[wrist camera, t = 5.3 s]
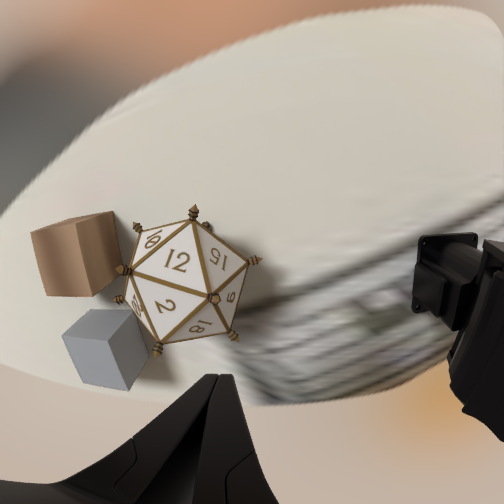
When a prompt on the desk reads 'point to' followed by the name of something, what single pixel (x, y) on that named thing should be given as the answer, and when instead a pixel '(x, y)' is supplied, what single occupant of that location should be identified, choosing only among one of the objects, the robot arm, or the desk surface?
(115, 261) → the walnut block
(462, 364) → the robot arm
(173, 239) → the game die
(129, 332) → the slate block
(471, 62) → the desk surface
